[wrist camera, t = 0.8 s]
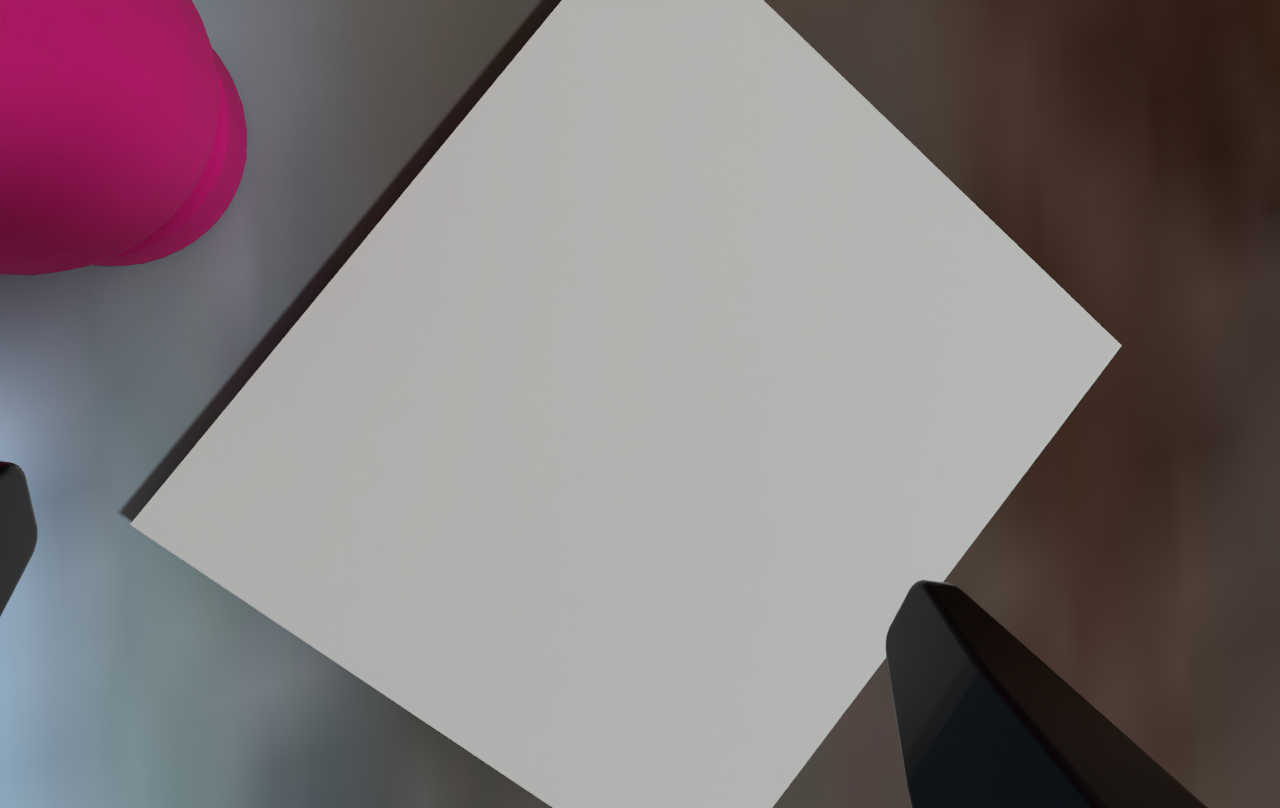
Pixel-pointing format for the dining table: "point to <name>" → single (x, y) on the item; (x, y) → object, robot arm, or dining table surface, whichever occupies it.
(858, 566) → the grey mat
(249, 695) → the dining table surface
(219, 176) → the pepper mill
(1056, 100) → the dining table surface
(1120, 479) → the dining table surface
